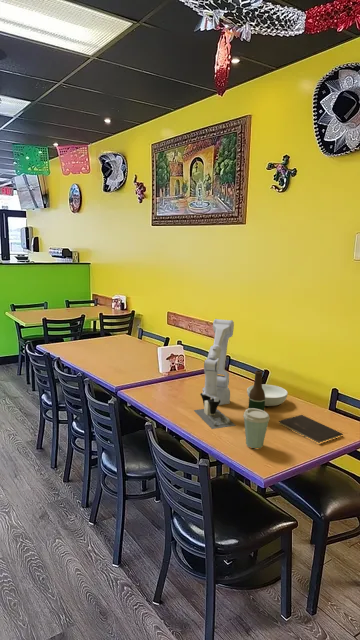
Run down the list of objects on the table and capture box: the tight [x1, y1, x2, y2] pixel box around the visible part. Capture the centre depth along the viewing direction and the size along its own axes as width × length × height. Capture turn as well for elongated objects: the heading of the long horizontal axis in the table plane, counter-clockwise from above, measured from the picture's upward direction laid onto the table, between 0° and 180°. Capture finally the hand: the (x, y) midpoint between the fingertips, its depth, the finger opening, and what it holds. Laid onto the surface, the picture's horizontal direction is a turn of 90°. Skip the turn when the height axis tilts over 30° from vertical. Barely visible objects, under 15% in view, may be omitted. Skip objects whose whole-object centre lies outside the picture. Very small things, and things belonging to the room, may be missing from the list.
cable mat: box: [193, 408, 237, 430], centre depth 196 cm, size 12×22×1 cm, turn 20°
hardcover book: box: [278, 414, 344, 443], centre depth 188 cm, size 16×23×2 cm
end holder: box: [208, 412, 231, 426], centre depth 192 cm, size 8×7×2 cm
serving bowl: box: [246, 383, 289, 407], centre depth 219 cm, size 21×21×7 cm
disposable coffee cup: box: [243, 408, 270, 449], centre depth 170 cm, size 11×11×15 cm
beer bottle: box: [247, 370, 266, 411], centre depth 195 cm, size 8×8×24 cm
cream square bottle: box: [203, 399, 215, 416], centre depth 200 cm, size 4×4×7 cm
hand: (209, 410), depth 201 cm, fingers open, 7 cm apart
